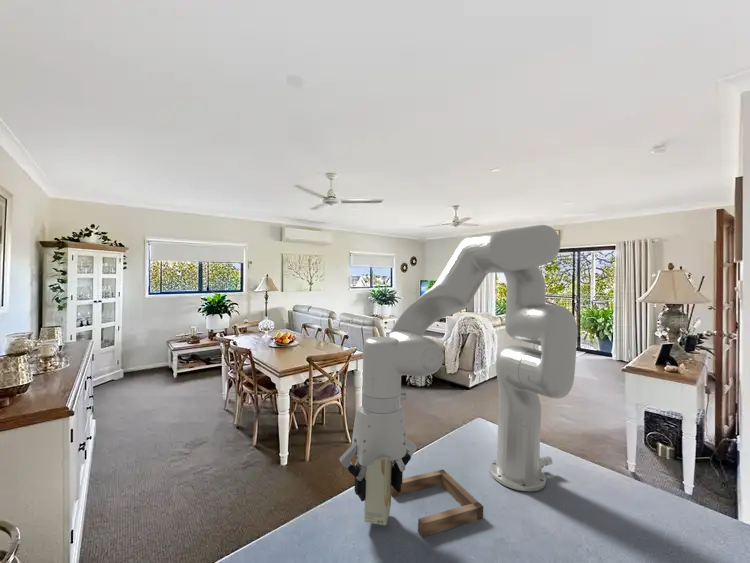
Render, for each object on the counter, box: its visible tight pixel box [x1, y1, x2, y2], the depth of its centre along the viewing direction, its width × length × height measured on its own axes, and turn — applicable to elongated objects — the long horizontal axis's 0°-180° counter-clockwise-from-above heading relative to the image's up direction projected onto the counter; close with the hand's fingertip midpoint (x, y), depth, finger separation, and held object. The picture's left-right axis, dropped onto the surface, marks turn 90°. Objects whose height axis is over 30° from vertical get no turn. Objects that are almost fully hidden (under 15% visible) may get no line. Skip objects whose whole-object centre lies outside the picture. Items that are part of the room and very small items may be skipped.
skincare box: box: [363, 456, 393, 526], centre depth 67 cm, size 6×4×12 cm
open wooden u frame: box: [391, 469, 484, 538], centre depth 72 cm, size 14×14×2 cm
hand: (378, 491), depth 67 cm, fingers closed on skincare box, 6 cm apart
